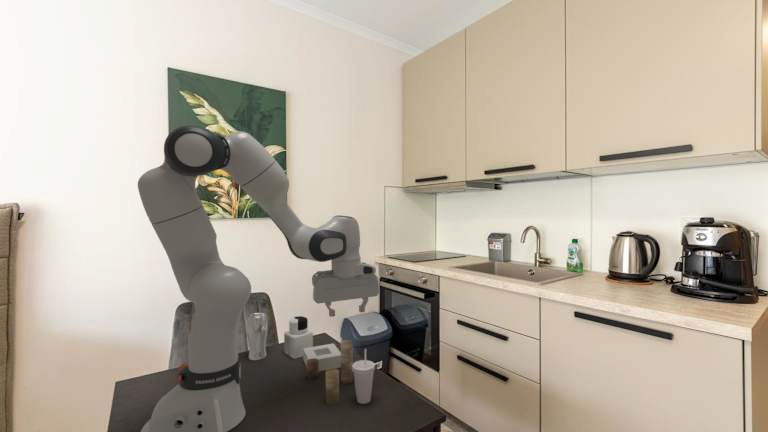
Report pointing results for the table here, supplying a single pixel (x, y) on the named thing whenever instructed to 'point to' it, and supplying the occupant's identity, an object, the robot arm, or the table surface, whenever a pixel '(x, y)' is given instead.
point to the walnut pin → (312, 369)
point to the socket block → (324, 356)
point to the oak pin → (332, 386)
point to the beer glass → (257, 335)
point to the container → (297, 337)
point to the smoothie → (363, 379)
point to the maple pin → (346, 361)
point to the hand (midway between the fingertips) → (347, 313)
